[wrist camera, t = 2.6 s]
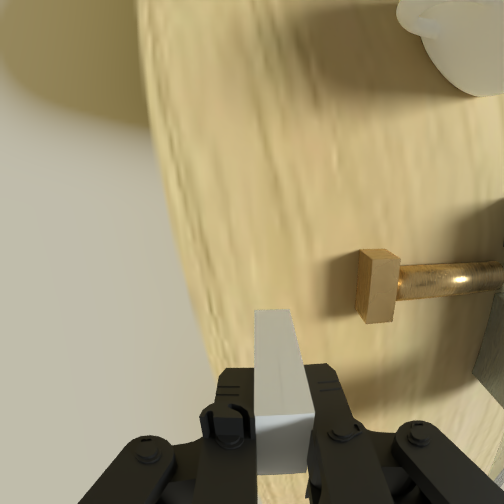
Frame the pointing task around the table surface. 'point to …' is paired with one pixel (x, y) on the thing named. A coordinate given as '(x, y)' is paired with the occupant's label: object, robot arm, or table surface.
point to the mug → (461, 40)
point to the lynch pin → (415, 282)
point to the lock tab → (498, 465)
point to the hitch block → (493, 352)
